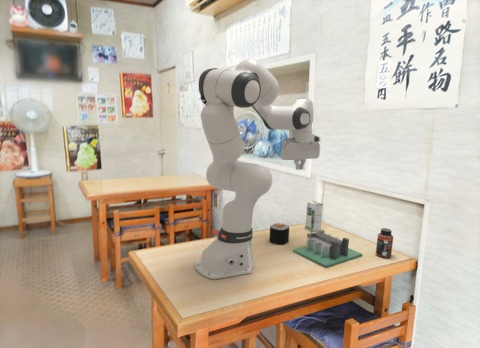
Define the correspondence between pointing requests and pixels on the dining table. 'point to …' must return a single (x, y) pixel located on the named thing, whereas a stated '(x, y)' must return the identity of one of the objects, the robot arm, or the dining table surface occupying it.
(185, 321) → the dining table surface
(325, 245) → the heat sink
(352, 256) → the circuit board
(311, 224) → the syrup box
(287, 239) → the sushi
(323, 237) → the steel strap
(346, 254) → the posts
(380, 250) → the supplement bottle
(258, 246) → the dining table surface
